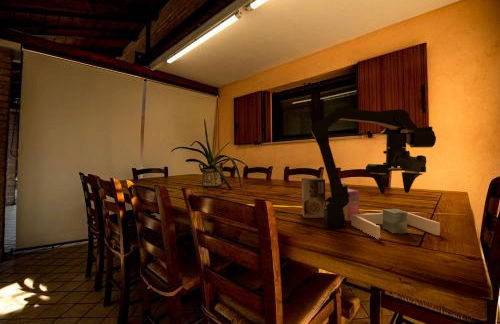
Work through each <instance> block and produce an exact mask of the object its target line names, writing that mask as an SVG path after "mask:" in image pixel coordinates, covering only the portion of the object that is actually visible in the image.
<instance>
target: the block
mask: <svg viewBox="0 0 500 324" xmlns="http://www.w3.org/2000/svg"><path fill="white" fill-rule="evenodd" d="M407 212H408V211H404V210H401V209H398V208H386V209H385V208H383V209H382V213H383V224H382V230H384V229H386V230H388V231H390V232H392V233H391V234H393V233H399V234H407V233H408V224H407ZM386 230H385V231H386ZM388 231H387V232H388ZM390 232H389V233H390Z"/></svg>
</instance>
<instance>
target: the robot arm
mask: <svg viewBox="0 0 500 324" xmlns="http://www.w3.org/2000/svg"><path fill="white" fill-rule="evenodd" d="M339 121H349V122H350V121H351V122H361V123H370V124H376V125H378V126H381V127H385V128H384V129H383V130H382V131H381V132H380V133H379V135H380V136H386V141H385V142H386V145H385V146H386V147H385V150H383V154H385V161H384V162H383V163H368V164H367V165H366V166H365V172H366V173H369V174H368V175H371V176H372V179H373V180H374V181H375V183H376V186H377V188H378V189H379V192H380V194H382V195H385V193H386V179H387V178H388V176H389V174H388V173H387V172H400V171H401V178H402V184H403V190H404V193H405V194H409V192H410V191H411V188H412V186H413V184H414V182H415V180H416V179H417V178H418V177H419V176H423V174H424V173H426V172H427V156H425V155H416V156H412V155H411V151H410V150H407V146H409V147H410V148H416V149H418V148H425V149H426V148H433V147H434V146H435V144H436V142H437V136H436V133H435V131H434V130H433V126H422V127H418V126H417V125H416V124H415V123H414V122H413V121H412V119H411V118H410V114H409V112H407V110H405V109H401V108H400V109H397V108H396V109H389V110H388V109H386V110H367V109H354V108H343V107H337V108H335V109H334V110H333V111H332V112H330V113H329V114H328V115H326V116H324V117H323V118H322V119H316V120H315V121H314V122H312V124H311V127H310V130H311V131H310V132H311V134H312V136H313V138H314V139H315V142H316V144H317V145H318V147H319V148H318V149H319V152H320V155H321V158H322V161H323V165H324V168H325V172H326V176H327V179H328V183H329V194H330V195H329V197H328V198H327V199H325V205H326V208H324V218H323V221H322V222H321V224H322V225H323V226H325V227H326V228H327V229H329V230H330V229H346V228H347V226H346V225H345V223H346V220H345V214H344V210H343V208H344V207H345V206H346V205H347V204H348V203H349V197H351V196H350V195H349V193H348V189H349V188H348V185H347V184H346V183H345V182H344V183H342V182H341V180H340V177H339V172H338V170H337V167H336V163H335V159H334V155H333V152H332V148H331V145H330V139H329V138H330V136H329V129H330V128H331V127H332V126H333V125H335V124H336V123H338V122H339Z"/></svg>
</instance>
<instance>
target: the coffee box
mask: <svg viewBox="0 0 500 324" xmlns="http://www.w3.org/2000/svg"><path fill="white" fill-rule="evenodd" d="M325 200H326V179H324V178H323V177H302V178H301V215H302V216H303V218H307V219H308V218H316V219H317V218H318V219H319V218H322V219H324V208H326V205H325Z"/></svg>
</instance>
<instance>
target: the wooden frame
mask: <svg viewBox="0 0 500 324" xmlns="http://www.w3.org/2000/svg"><path fill="white" fill-rule="evenodd" d="M406 212H407V226H408V225H409V226H412V227H414V228H417V229H418V230H419V229H420V231H424V232H426V233H430V234H432V235H434V236H440V235H441V234H440V233H441V222H438V221H436V220H432V219H429V218H426V217H423V216H420V215H417V214H413V213H412V212H408V211H406ZM350 223H351V224H350V225H351V226H353V227H354V228H355V229H358V230H359V229H360V230H359V231H361V230H362V231H361V232H363V233H365V234H366V233H367V234H366V235H368V234H369V235H368V236H370V235H371V236H370V237H372V236H373V237H375V238H376V239H375V238H374V239H375V240H380V239H381V226H380V225H383V212H370V213H359V214H351V221H350ZM376 224H379V225H376ZM373 237H372V238H373ZM379 238H380V239H379Z"/></svg>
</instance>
